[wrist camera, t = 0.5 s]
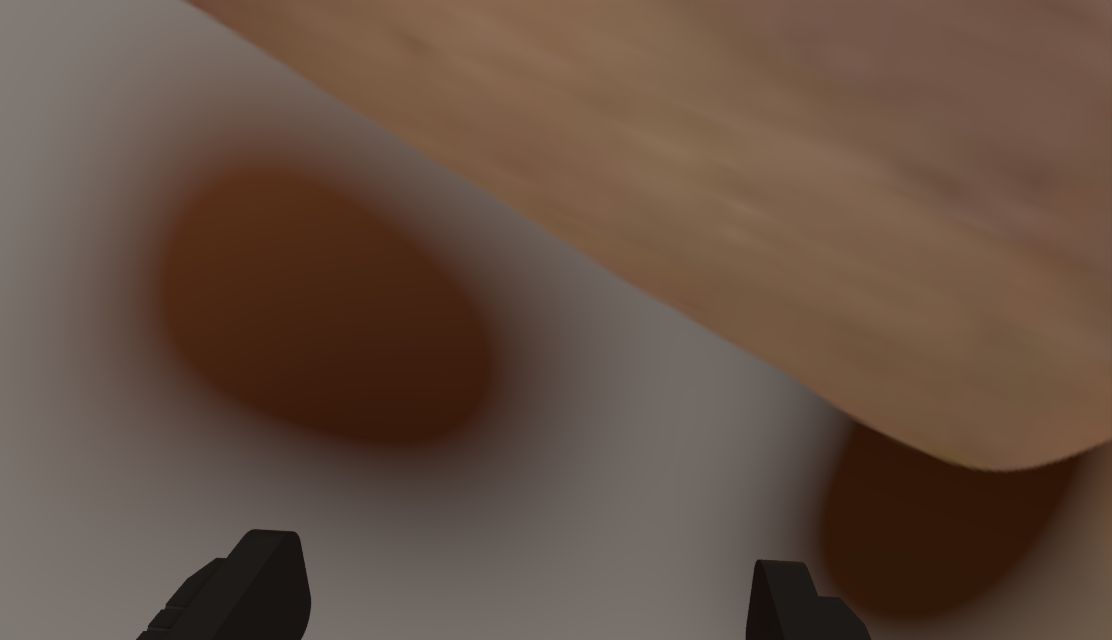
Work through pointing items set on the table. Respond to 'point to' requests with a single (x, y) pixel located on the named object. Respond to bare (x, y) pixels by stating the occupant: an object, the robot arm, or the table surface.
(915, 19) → the table surface
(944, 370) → the table surface
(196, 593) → the robot arm
